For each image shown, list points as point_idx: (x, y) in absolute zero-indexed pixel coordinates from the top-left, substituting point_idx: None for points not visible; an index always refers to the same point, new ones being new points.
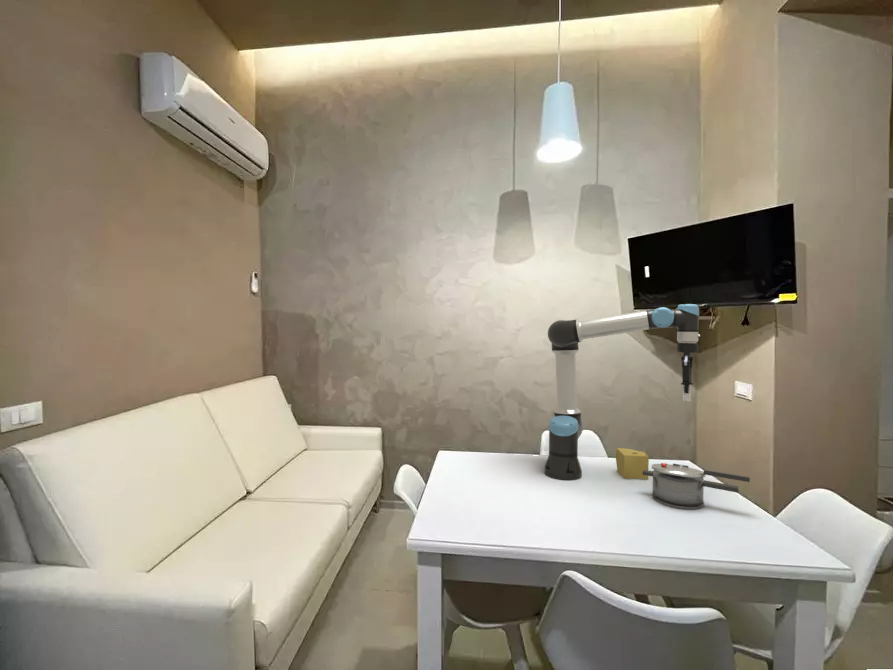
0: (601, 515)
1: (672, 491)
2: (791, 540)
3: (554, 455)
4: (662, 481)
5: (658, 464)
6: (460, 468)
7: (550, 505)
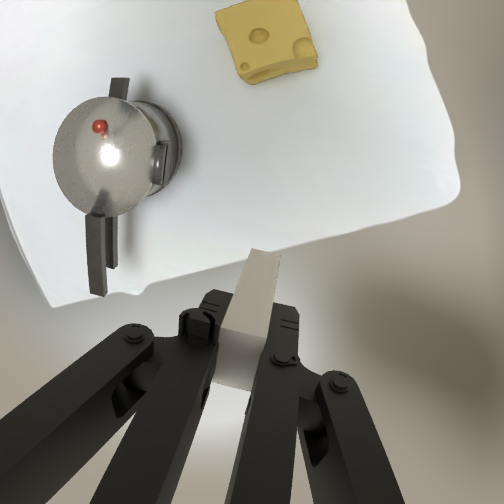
0: (36, 55)
1: None
2: (79, 287)
3: None
4: None
5: (125, 110)
6: None
7: None
